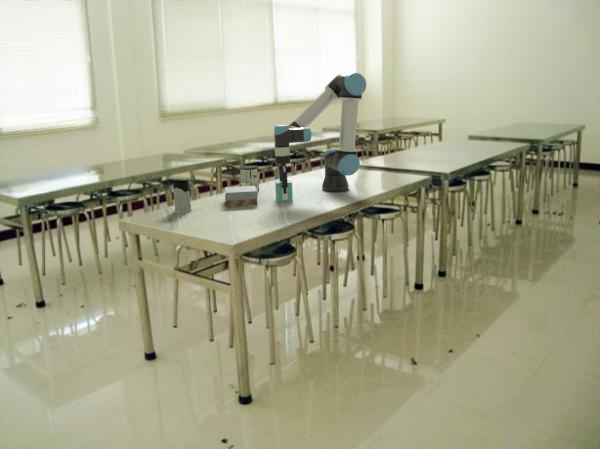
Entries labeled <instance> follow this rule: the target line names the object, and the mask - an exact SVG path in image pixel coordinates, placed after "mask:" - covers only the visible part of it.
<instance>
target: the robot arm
mask: <svg viewBox="0 0 600 449" xmlns="http://www.w3.org/2000/svg"><path fill="white" fill-rule="evenodd" d="M366 88H367V80H366V78H365V77H364V76H363V75H362V74H361V73H359V72H356V71H355V72H354V71H349V72H341V73H339V74H337V75H336V76H335V77H334V78H333V79H332V80H330V82H328V84H326V86H324V90H323V92H322V93H320V94H319V95H317V97H316V99H314V100H313V101H312V102H311V103H310V104H309V106H307V107H306V108H305V109H304V110H303V112H301V113H300V114H299V115H298V116H297V117H296V118H295V119H294V120H293V121H292V122H291V123H290V124H275V125H274V130H273V135H274V136H273V138H274V147H275V148H274V149H273V151H274V152H275V154H274V155H275V161H274V162H275V163H276V164H278V170H279V171H278V172H279V173H278V174H279V181H282V186H281V188H282V200H288V193H287V187H288V183H287V180H288V166H287V165H286V164H288V163H290V162H291V155H290V154H291V153H290V152H291V150H290V149H291V147H290V144H294V143H307V142H311V140H312V130H311V128H310V127H309V126H310V125H312V123H313V122H314V121H315V120H316V119H317V118H318V117H319V116H320V115H321V114H322V113H324V112H325V110H326V109H327V108H328V107H329V106H330V105H331V104H332V103H333V102H334V101H337V100H339V99H340V100H341V101H342V104H341V114H340V127H339V128H340V129H339V141H338V142H339V143H338V147H336V149H326V150H325V151H324V156H323V157H324V179H323V182H322V186H321V189H322V191H324V192H329V193H330V192H331V193H333V192H337V193H338V192H346V191H348V190H350V187H349V186H350V185H349V182H348V179H347V176H353V175H354V174H355V173H357V172H358V170H359V168H360V163H361V162H360V160H359V157H358V150H357V148H356V136H357V126H358V125H357V124H358V123H357V122H358V114H359V113H358V111H359V103H360V102H361V101H362V99H363V98H362V97H363V94H364V92H365V91H366V90H367V89H366ZM284 184H286V185H284Z"/></svg>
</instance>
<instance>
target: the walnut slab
mask: <svg viewBox="0 0 600 449" xmlns="http://www.w3.org/2000/svg"><path fill="white" fill-rule="evenodd" d="M224 200H225V208H237V207H238V208H239V207H251V206H250V205H256V206H258V198H257V199H246V200H228V201H226V194H224Z"/></svg>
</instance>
